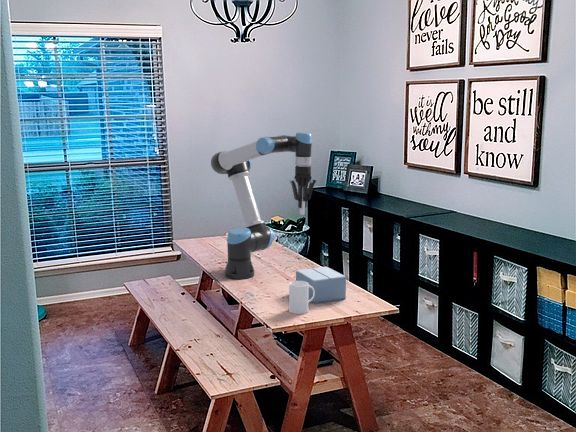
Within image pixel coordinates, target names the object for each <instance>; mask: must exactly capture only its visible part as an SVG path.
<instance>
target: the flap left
mask: <svg viewBox="0 0 576 432" xmlns="http://www.w3.org/2000/svg"><path fill="white" fill-rule="evenodd" d="M296 271H297V272H298V273H300V274H302V275H304V276H305V277H307V278H309V279H310V280H312V281H314V282H316V281H324V280H329V278H327V277H326V276H324V275H322V274H320V273H318V272H316V271H315V270H313V269H312V268H303V269H296Z"/></svg>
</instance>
